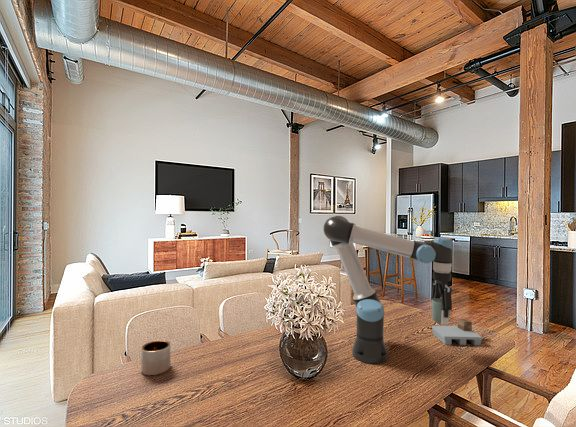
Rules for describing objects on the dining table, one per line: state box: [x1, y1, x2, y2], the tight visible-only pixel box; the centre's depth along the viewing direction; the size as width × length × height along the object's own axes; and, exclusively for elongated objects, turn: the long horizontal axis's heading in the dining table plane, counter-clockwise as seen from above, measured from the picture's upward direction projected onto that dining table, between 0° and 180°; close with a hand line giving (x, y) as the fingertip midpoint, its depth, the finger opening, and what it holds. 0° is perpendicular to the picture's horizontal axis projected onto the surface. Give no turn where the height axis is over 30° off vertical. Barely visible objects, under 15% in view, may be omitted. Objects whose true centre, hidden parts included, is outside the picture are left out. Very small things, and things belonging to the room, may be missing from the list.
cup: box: [431, 298, 451, 325], centre depth 143 cm, size 8×8×10 cm
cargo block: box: [457, 318, 473, 331], centre depth 160 cm, size 4×4×4 cm
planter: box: [140, 339, 171, 376], centre depth 125 cm, size 11×11×10 cm
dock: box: [431, 325, 483, 346], centre depth 157 cm, size 18×14×4 cm
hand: (440, 320), depth 143 cm, fingers closed on cup, 8 cm apart
